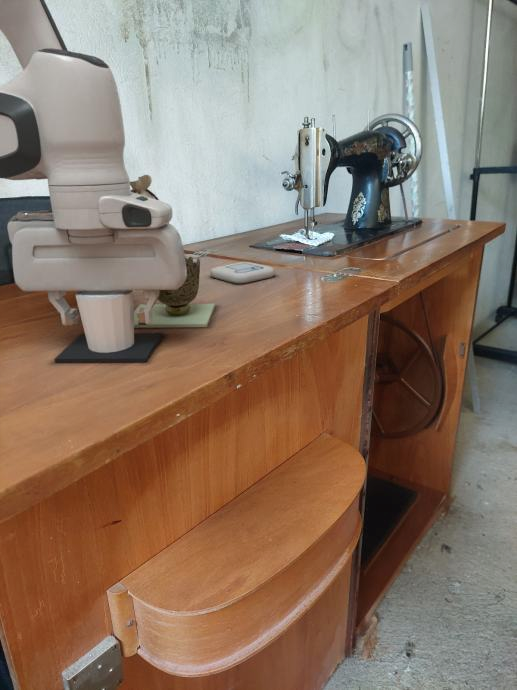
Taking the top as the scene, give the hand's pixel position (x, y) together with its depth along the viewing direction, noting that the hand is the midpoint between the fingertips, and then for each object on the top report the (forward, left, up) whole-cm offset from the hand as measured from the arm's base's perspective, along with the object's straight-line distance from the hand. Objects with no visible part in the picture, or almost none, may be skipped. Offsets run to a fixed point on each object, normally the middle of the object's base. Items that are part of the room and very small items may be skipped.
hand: (108, 324), depth 64 cm
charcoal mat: (0, 0, -3) cm, 3 cm away
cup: (+6, +13, -3) cm, 15 cm away
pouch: (-6, +43, -4) cm, 44 cm away
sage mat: (+5, +13, -3) cm, 14 cm away
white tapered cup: (0, 0, -3) cm, 3 cm away
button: (+14, +38, -4) cm, 41 cm away
